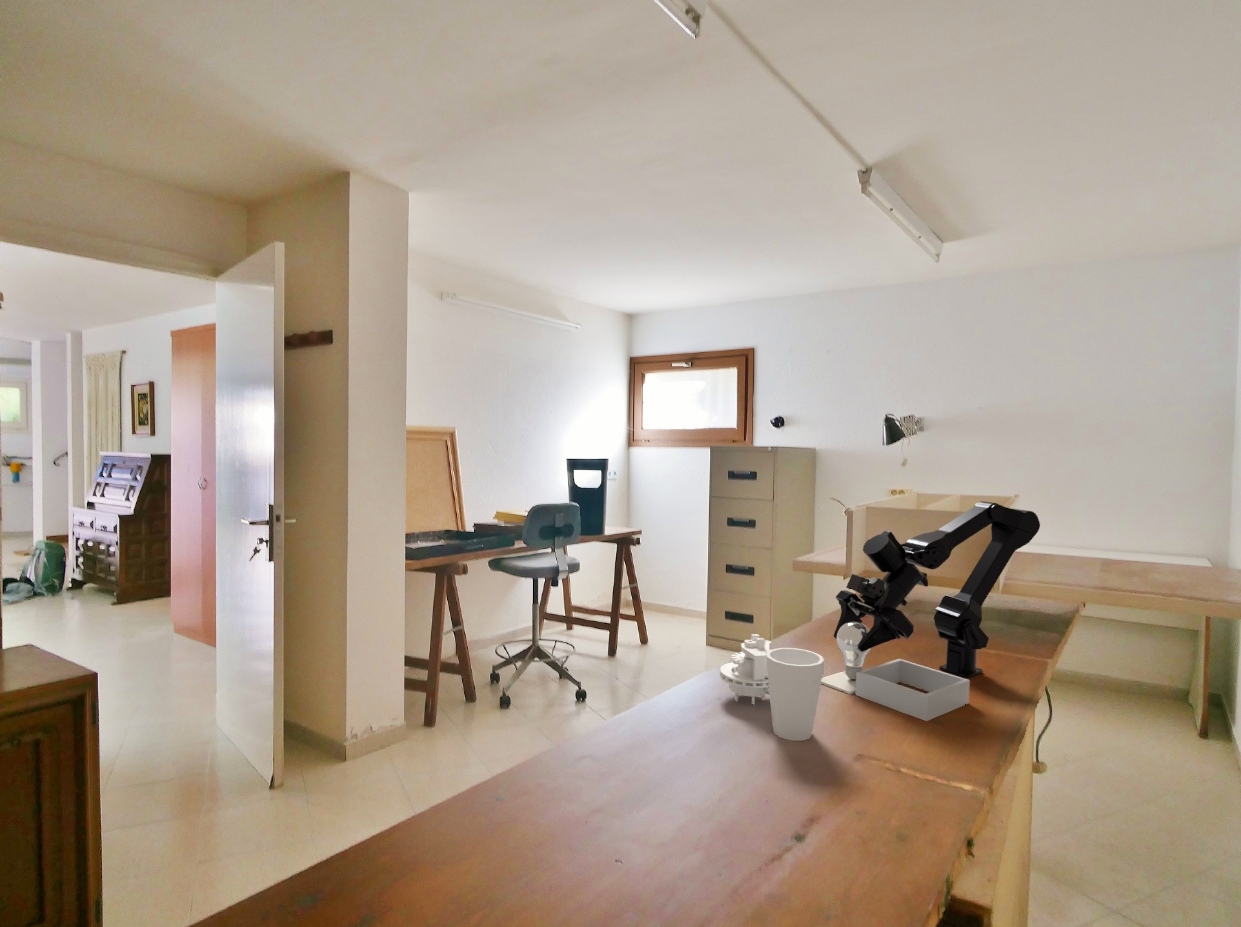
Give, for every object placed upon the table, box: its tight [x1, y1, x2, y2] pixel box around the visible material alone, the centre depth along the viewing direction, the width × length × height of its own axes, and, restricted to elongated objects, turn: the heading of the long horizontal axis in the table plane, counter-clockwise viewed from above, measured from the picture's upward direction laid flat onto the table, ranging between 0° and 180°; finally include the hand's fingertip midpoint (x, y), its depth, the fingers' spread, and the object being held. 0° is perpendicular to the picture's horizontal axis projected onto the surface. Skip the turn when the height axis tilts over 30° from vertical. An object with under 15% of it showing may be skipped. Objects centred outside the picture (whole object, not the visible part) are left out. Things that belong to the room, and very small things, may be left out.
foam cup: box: [766, 647, 825, 742], centre depth 117 cm, size 10×9×13 cm
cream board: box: [821, 670, 856, 695], centre depth 142 cm, size 12×8×1 cm, turn 126°
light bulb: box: [836, 621, 872, 681], centre depth 141 cm, size 7×7×12 cm
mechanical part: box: [719, 633, 772, 706], centre depth 132 cm, size 11×12×12 cm
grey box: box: [854, 658, 971, 722], centre depth 133 cm, size 15×15×4 cm
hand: (847, 643), depth 141 cm, fingers open, 8 cm apart
